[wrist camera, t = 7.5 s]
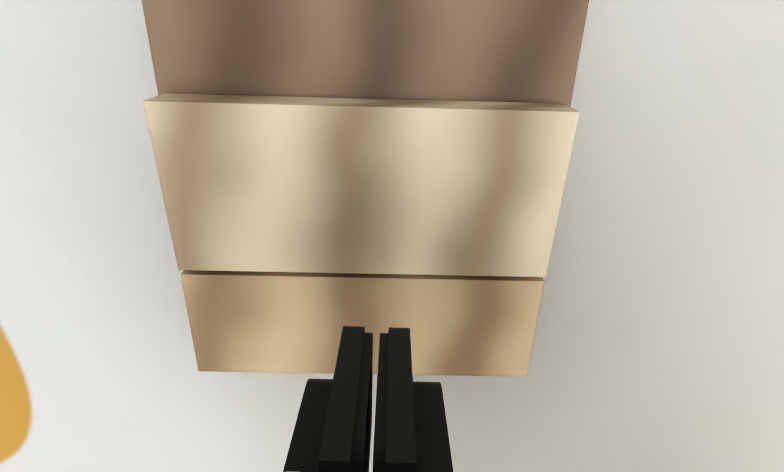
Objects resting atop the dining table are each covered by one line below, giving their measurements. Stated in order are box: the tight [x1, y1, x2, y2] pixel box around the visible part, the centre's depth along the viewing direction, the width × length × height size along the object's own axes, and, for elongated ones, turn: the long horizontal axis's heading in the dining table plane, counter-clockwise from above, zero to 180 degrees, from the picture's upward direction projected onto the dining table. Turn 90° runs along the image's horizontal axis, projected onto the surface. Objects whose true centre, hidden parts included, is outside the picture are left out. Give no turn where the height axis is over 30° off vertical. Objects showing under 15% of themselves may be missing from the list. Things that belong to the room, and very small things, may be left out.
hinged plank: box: [143, 93, 580, 277], centre depth 21 cm, size 18×8×2 cm, turn 89°
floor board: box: [142, 0, 589, 376], centre depth 23 cm, size 19×21×4 cm
